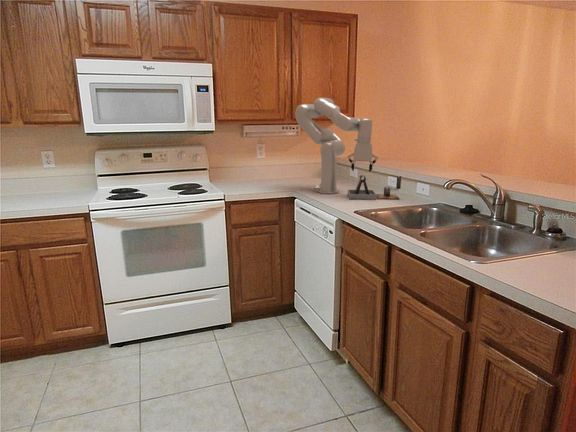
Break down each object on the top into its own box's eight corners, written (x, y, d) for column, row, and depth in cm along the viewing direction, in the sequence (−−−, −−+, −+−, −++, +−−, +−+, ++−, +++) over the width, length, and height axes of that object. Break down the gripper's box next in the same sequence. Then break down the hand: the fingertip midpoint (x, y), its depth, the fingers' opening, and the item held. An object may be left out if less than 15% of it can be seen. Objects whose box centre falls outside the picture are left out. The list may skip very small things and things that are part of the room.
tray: (349, 199, 221) (349, 194, 220) (347, 194, 237) (347, 189, 236) (376, 200, 220) (376, 194, 219) (372, 194, 236) (373, 190, 235)
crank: (382, 195, 226) (383, 175, 224) (385, 194, 229) (386, 174, 227) (398, 197, 221) (400, 176, 218) (400, 196, 224) (402, 176, 221)
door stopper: (354, 196, 226) (355, 176, 223) (353, 195, 232) (354, 174, 229) (370, 197, 225) (371, 176, 222) (369, 195, 231) (370, 175, 228)
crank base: (377, 199, 222) (377, 197, 222) (374, 195, 233) (375, 193, 233) (399, 199, 221) (399, 197, 221) (395, 195, 232) (395, 193, 232)
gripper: (348, 140, 218) (346, 171, 222) (380, 142, 217) (377, 172, 221) (348, 139, 225) (345, 169, 230) (378, 141, 224) (375, 170, 228)
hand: (361, 171), depth 225 cm, fingers open, 9 cm apart
